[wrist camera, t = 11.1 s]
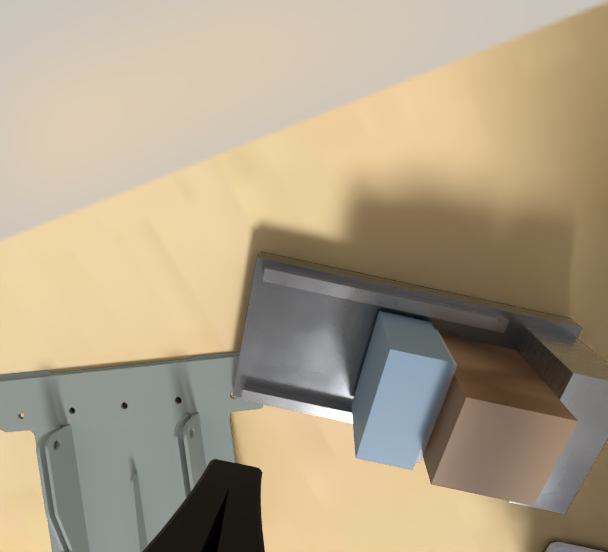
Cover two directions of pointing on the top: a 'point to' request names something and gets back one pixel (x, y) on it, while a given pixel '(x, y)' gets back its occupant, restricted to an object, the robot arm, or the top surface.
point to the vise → (415, 304)
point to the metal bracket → (122, 443)
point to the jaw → (400, 390)
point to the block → (496, 426)
